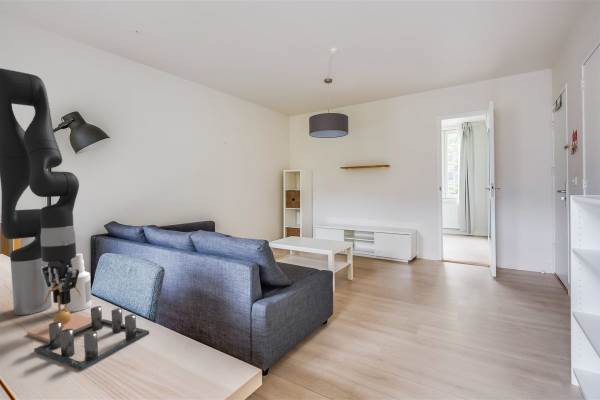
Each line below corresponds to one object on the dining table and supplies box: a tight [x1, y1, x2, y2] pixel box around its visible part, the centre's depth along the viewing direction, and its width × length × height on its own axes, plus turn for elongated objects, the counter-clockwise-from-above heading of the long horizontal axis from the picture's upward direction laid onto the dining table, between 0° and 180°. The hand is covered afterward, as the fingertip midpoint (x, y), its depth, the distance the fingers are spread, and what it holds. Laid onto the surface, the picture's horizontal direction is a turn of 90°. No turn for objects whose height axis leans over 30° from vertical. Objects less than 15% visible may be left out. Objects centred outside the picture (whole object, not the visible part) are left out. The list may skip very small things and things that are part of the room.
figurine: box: [44, 283, 81, 325], centre depth 83 cm, size 8×6×12 cm
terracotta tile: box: [27, 313, 91, 343], centre depth 84 cm, size 11×12×1 cm
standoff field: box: [33, 305, 150, 371], centre depth 76 cm, size 19×17×6 cm
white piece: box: [66, 253, 92, 313], centre depth 97 cm, size 7×7×18 cm
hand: (62, 302), depth 83 cm, fingers closed on figurine, 2 cm apart
